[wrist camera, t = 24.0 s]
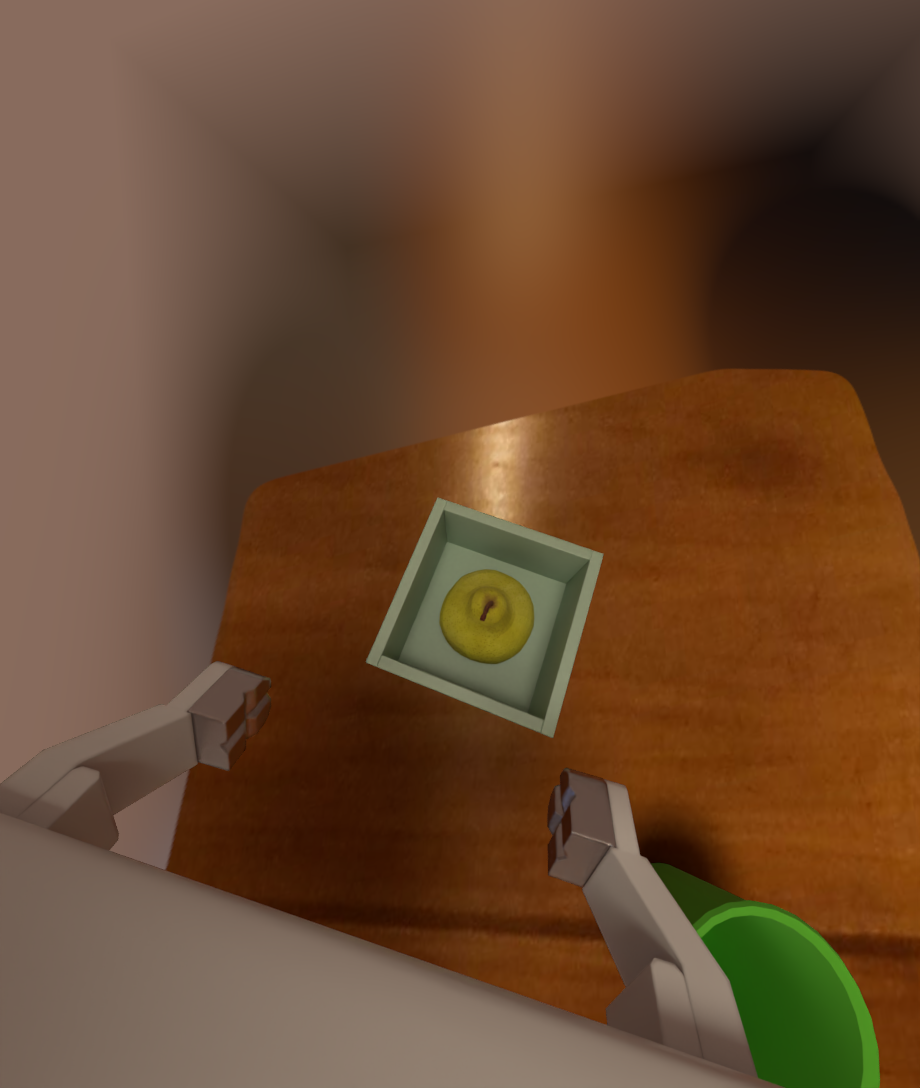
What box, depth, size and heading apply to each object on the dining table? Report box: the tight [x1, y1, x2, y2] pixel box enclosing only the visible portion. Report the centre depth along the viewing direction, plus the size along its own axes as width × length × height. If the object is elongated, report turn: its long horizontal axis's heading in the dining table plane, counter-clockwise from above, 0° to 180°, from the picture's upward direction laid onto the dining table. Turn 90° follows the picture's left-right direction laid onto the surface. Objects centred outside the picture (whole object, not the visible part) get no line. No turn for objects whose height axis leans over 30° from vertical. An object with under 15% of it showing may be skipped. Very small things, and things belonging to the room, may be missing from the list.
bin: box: [366, 498, 603, 738], centre depth 31 cm, size 13×13×8 cm
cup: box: [651, 863, 880, 1088], centre depth 23 cm, size 9×9×11 cm
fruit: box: [439, 569, 534, 664], centre depth 29 cm, size 7×7×12 cm
